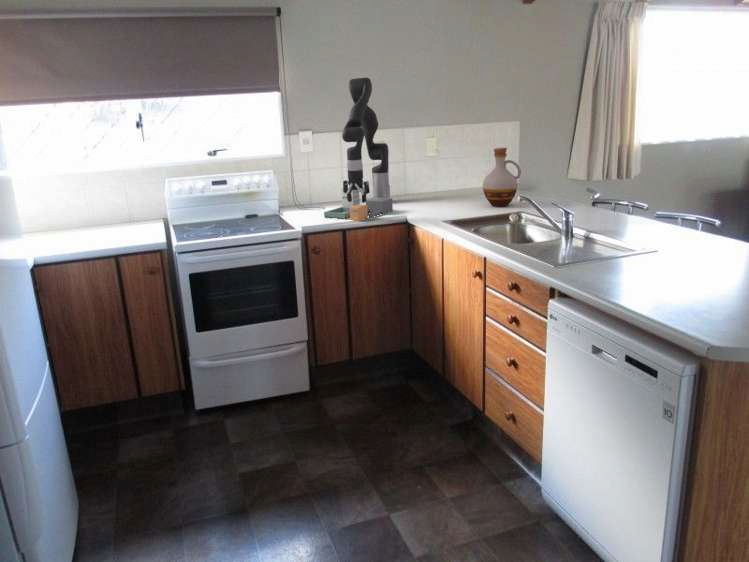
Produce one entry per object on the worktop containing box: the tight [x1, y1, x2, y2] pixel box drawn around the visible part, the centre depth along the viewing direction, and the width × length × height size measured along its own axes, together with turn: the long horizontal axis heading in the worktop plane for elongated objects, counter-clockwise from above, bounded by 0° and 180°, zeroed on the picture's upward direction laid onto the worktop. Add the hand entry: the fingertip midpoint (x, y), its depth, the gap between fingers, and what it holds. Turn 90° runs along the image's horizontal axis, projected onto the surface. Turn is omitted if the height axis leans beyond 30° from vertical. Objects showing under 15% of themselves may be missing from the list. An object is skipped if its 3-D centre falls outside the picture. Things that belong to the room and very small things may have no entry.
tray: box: [323, 206, 350, 220], centre depth 329 cm, size 15×13×3 cm
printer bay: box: [365, 197, 394, 219], centre depth 328 cm, size 20×10×7 cm, turn 146°
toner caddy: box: [349, 203, 369, 223], centre depth 316 cm, size 9×5×7 cm, turn 146°
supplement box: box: [341, 185, 361, 207], centre depth 342 cm, size 7×7×13 cm
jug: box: [482, 147, 522, 208], centre depth 330 cm, size 20×18×30 cm
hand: (356, 202), depth 314 cm, fingers open, 8 cm apart
